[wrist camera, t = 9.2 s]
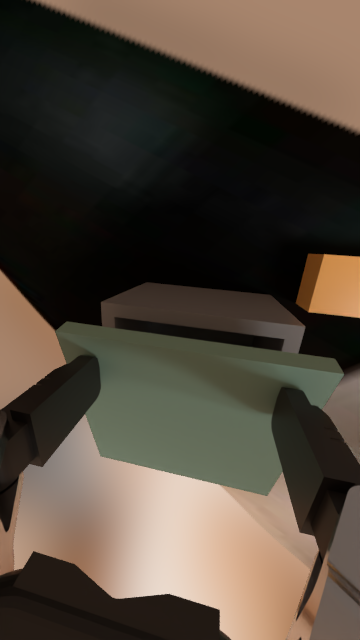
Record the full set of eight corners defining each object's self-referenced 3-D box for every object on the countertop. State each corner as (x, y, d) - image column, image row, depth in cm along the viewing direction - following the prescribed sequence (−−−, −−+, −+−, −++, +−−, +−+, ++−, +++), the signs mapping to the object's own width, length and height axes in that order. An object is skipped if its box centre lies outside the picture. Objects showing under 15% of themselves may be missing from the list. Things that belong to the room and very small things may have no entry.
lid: (334, 358, 8) (344, 374, 7) (265, 481, 14) (267, 495, 13) (66, 321, 10) (54, 331, 9) (106, 444, 16) (100, 456, 15)
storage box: (270, 294, 18) (305, 326, 10) (247, 400, 22) (262, 480, 14) (146, 282, 20) (100, 302, 12) (144, 382, 23) (108, 445, 16)
